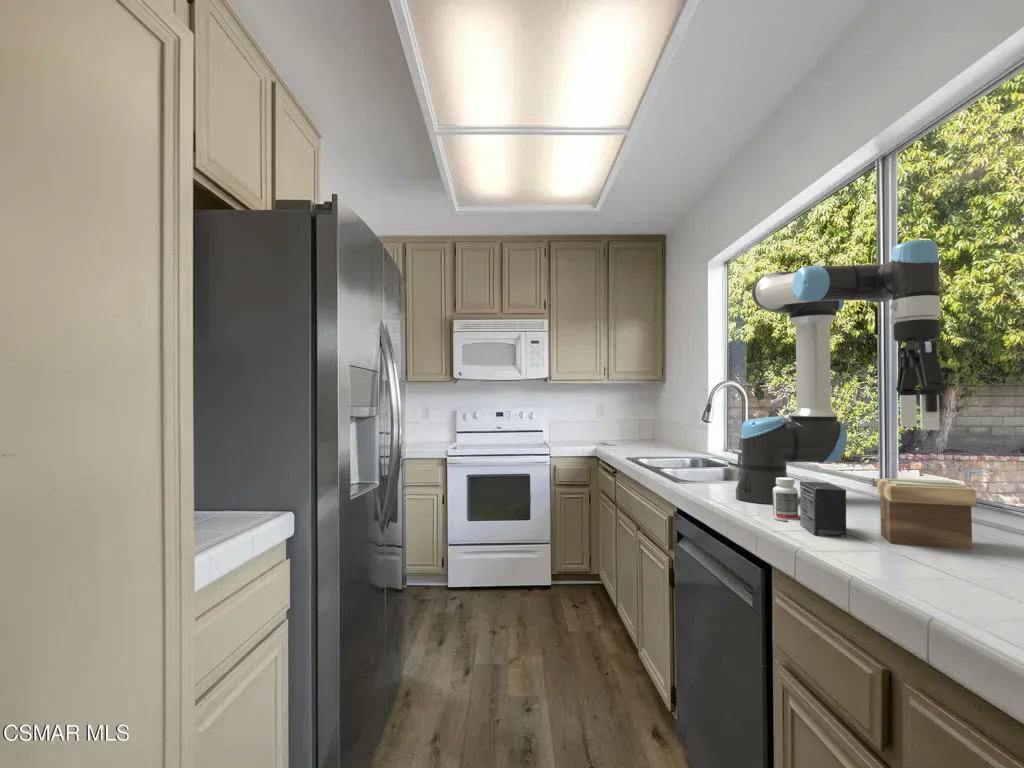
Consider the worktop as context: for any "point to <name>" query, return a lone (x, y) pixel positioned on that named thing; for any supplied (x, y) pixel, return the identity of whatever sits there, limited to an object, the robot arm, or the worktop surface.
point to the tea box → (926, 524)
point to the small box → (823, 509)
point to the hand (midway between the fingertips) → (918, 428)
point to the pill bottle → (785, 499)
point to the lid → (926, 491)
